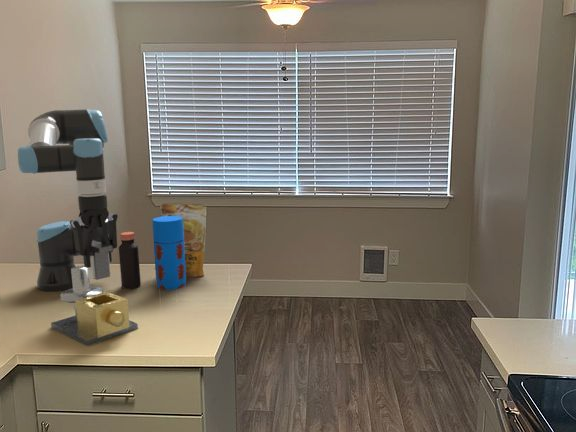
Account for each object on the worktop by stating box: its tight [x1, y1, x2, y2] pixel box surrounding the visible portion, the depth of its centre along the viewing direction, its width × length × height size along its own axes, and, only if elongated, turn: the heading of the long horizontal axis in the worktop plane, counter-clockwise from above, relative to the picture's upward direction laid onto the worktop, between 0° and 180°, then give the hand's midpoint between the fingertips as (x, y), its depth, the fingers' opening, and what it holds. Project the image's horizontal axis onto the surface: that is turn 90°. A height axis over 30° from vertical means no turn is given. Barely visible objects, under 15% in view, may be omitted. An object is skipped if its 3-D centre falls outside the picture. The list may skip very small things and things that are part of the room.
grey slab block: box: [91, 240, 114, 281], centre depth 156 cm, size 10×4×10 cm, turn 49°
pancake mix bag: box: [158, 203, 209, 278], centre depth 214 cm, size 7×19×28 cm, turn 76°
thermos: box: [152, 216, 187, 291], centre depth 201 cm, size 11×11×25 cm
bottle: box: [118, 231, 142, 290], centre depth 201 cm, size 7×7×20 cm
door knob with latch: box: [50, 265, 139, 347], centre depth 161 cm, size 26×16×18 cm, turn 49°
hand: (99, 275), depth 156 cm, fingers closed on grey slab block, 4 cm apart
